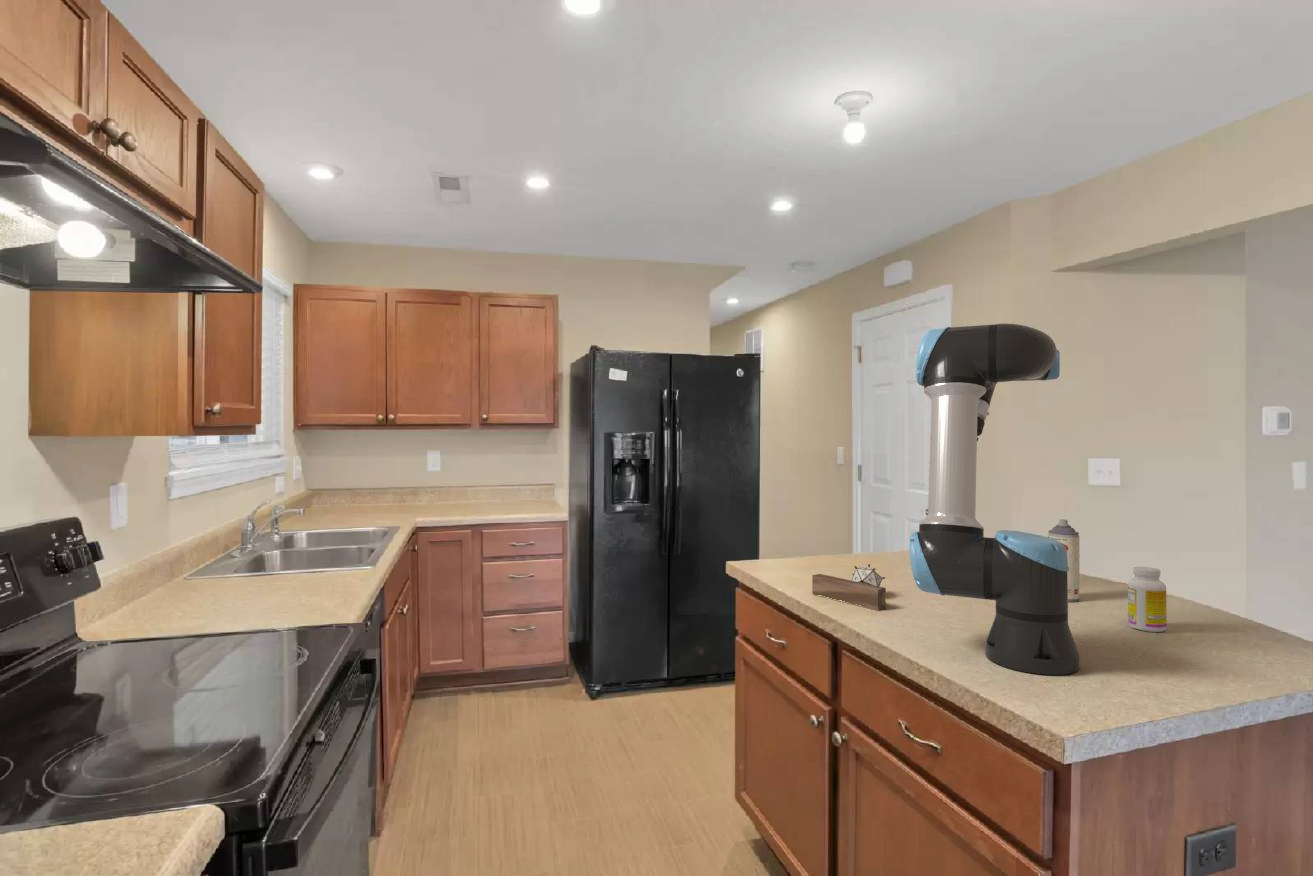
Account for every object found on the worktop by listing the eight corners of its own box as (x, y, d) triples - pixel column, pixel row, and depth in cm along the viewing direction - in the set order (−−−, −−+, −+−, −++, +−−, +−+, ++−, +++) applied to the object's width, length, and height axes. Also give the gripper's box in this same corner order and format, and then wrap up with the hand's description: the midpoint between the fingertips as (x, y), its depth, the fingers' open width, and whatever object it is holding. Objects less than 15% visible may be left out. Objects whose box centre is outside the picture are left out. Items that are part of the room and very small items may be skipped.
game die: (873, 612, 170) (892, 586, 165) (842, 600, 171) (859, 573, 165) (872, 588, 178) (889, 562, 173) (842, 576, 178) (858, 550, 173)
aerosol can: (1041, 597, 170) (1041, 518, 170) (1060, 594, 173) (1060, 517, 173) (1066, 603, 164) (1067, 522, 164) (1085, 600, 167) (1085, 520, 166)
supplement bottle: (1172, 630, 142) (1172, 569, 142) (1157, 635, 138) (1157, 573, 138) (1136, 622, 148) (1136, 564, 148) (1121, 627, 144) (1122, 567, 144)
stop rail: (877, 610, 158) (877, 589, 158) (812, 594, 174) (812, 575, 174) (885, 608, 160) (885, 587, 160) (820, 592, 176) (820, 573, 176)
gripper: (995, 416, 170) (971, 501, 164) (972, 429, 182) (949, 509, 177) (967, 405, 170) (942, 490, 165) (945, 419, 183) (921, 498, 177)
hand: (945, 500), depth 171 cm, fingers closed
